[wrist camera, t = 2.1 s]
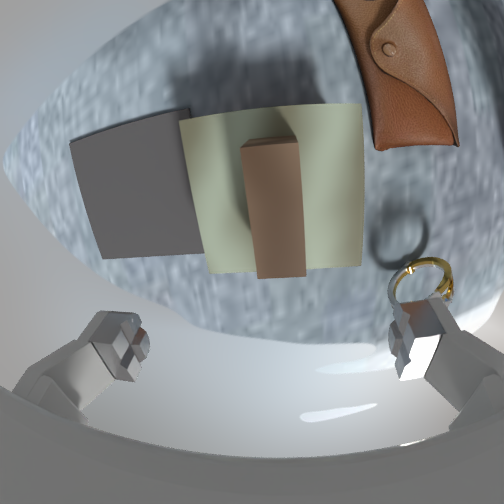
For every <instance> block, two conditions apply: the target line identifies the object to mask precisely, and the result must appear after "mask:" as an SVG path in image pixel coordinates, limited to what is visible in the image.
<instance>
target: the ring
mask: <svg viewBox="0 0 504 504" xmlns="http://www.w3.org/2000/svg"><path fill="white" fill-rule="evenodd" d="M422 267H436V268H439V269H441V270H442V271H443V272H444V276H443V279H442V281H441V283H440V284H439V286H438V287H437V288H436V290H435V292H434V293H432V294H431V295H429V296H428V297H427V298H425V299H429V298H435V297H439V298H441V299H442V300H443V302H444V303H445V305H446V307H447V308H448V306H449V304H450V303H452V298H453V295H454V289H455V286H454V279H453V274H452V270H451V267H450V265H449V263H448V262H446V261H445V260H443V259H440V258H436V257H425V258H420V259H417V260H414V261H408V262H406V263H405V264H404V266H403V267H401V268H400V269H399V270H398V271H397V272H396V273H395V274H394V275H393V277H392V278H391V280H390V282H389V285H388V290H387V294H388V298H389V301H390V303H391V306H392V308H393V310H394V307H395V305H396V303H399V302H398V301H397V300H396V288H397V285H398V284H399V282H400V281H401V279H402V278H403V277H404V276H406V275H407V274H412V273H413V272H415V270H416V269H418V268H422ZM447 287H448V290H447V293H446V294H445V295H443V297H441V296H442V293H443V292H444V291H445V290H446V289H447ZM425 299H424V300H425Z"/></svg>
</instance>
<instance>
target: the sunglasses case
mask: <svg viewBox="0 0 504 504" xmlns="http://www.w3.org/2000/svg"><path fill="white" fill-rule="evenodd" d="M334 2H335V4H336V6H337V8H338V10H339V12H340V14H341V16H342V19H343V21H344V23H345V25H346V28H347V30H348V33H349V36H350V39H351V42H352V44H353V47H354V50H355V54H356V56H357V59H358V63H359V66H360V70H361V73H362V77H363V81H364V84H365V88H366V92H367V96H368V101H369V105H370V110H371V118H372V124H373V141H374V146H375V149H376V150H378V151H384V150H387V149H389V148H396V147H405V146H414V145H449V146H450V145H455V146H456V147H459V146H460V145H459V138H458V130H457V119H456V110H455V103H454V97H453V92H452V87H451V82H450V78H449V74H448V70H447V66H446V62H445V59H444V55H443V52H442V48H441V45H440V42H439V39H438V36H437V33H436V30H435V27H434V25H433V22H432V19H431V17H430V14H429V12H428V9H427V7H426V5H425V3H424V1H423V0H334Z"/></svg>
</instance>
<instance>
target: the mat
mask: <svg viewBox="0 0 504 504" xmlns="http://www.w3.org/2000/svg"><path fill="white" fill-rule="evenodd" d="M186 119H191V115H190V108H187V109H183V110H178V111H174V112H169V113H165V114H161V115H157V116H153V117H149V118H146V119H142V120H138V121H135V122H131V123H128V124H124V125H121V126H118V127H115V128H112V129H109V130H106V131H103V132H100V133H97V134H94V135H91V136H88V137H86V138H83V139H80V140H78V141H75V142H72V143H70V144H69V146H70V150H71V155H72V159H73V164H74V168H75V172H76V176H77V180H78V184H79V187H80V191H81V195H82V198H83V202H84V205H85V208H86V212H87V215H88V218H89V221H90V224H91V227H92V230H93V233H94V236H95V239H96V242H97V245H98V248H99V250H100V253H101V256H102V259H116V258H133V257H150V256H167V255H184V254H201V253H205V252H204V248H203V243H202V239H201V234H200V230H199V225H198V220H197V215H196V211H195V206H194V201H193V196H192V191H191V186H190V181H189V175H188V170H187V165H186V159H185V154H184V148H183V143H182V137H181V131H180V125H179V121H181V120H186Z"/></svg>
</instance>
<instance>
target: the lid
mask: <svg viewBox="0 0 504 504" xmlns="http://www.w3.org/2000/svg"><path fill="white" fill-rule="evenodd" d="M179 125H180V131H181V137H182V143H183V148H184V154H185V159H186V165H187V170H188V175H189V181H190V186H191V191H192V196H193V201H194V206H195V211H196V215H197V220H198V225H199V230H200V234H201V239H202V243H203V248H204V252H205V257H206V261H207V265H208V270H209V274H215V273H238V272H257V277H258V279H267V278H288V277H306V269H317V268H333V267H349V266H361V260H362V246H363V227H364V138H363V120H362V106H361V104H306V105H290V106H277V107H266V108H256V109H248V110H240V111H233V112H226V113H219V114H213V115H207V116H202V117H196V118H191V119H186V120H181V121H179Z"/></svg>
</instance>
